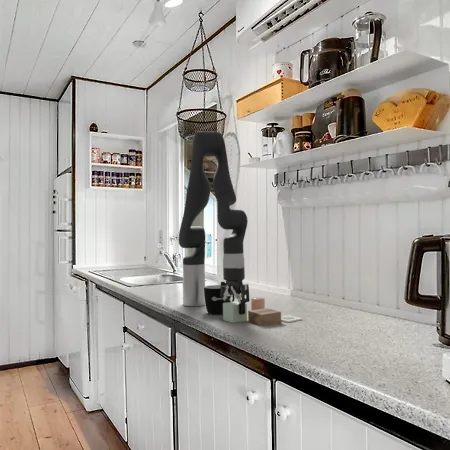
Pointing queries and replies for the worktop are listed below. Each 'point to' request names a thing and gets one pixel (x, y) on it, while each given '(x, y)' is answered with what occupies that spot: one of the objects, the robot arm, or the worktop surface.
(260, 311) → the walnut block
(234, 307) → the sage cube
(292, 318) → the tile
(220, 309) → the mug
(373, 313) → the worktop surface
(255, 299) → the terracotta cylinder
